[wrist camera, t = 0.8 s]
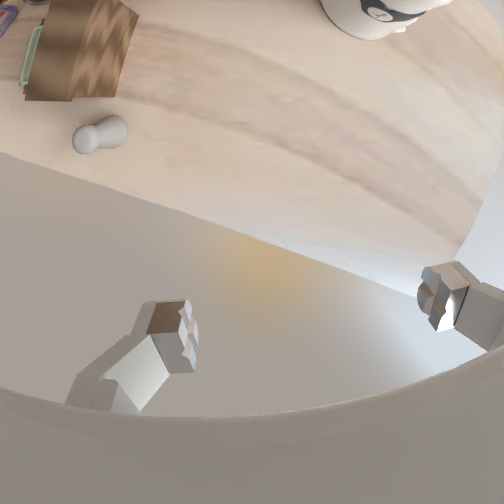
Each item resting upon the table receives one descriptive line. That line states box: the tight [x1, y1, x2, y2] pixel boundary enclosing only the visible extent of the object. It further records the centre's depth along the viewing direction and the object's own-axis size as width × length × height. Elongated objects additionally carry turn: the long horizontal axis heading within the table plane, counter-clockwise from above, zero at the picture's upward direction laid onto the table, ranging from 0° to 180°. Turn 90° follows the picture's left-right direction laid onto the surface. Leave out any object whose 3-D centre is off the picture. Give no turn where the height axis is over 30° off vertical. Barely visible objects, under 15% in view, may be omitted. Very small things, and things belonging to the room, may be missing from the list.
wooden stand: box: [23, 0, 139, 102], centre depth 27 cm, size 17×22×16 cm
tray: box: [19, 25, 43, 85], centre depth 30 cm, size 12×10×2 cm
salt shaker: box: [72, 116, 128, 154], centre depth 37 cm, size 6×6×13 cm
